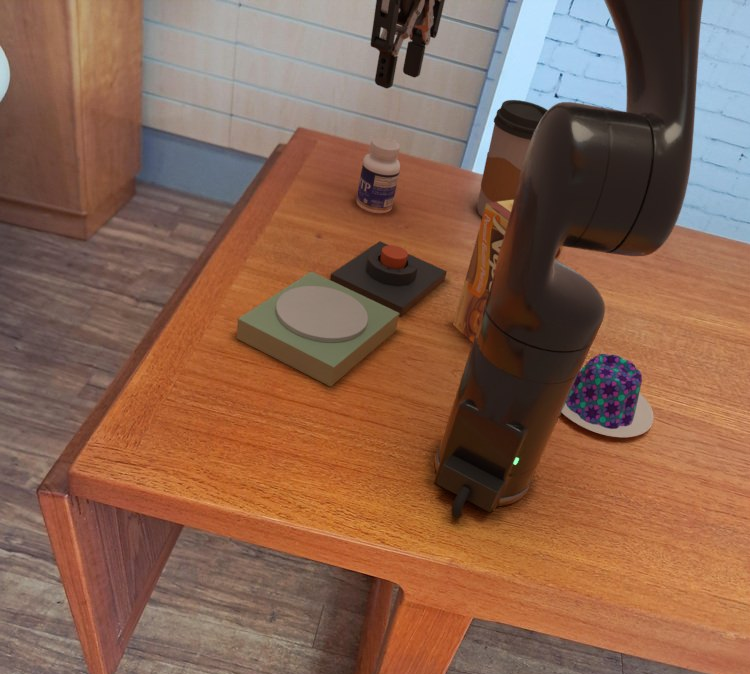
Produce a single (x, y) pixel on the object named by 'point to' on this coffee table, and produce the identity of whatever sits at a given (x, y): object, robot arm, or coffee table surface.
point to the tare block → (389, 279)
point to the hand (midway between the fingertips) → (397, 80)
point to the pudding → (609, 398)
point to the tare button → (393, 257)
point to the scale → (317, 327)
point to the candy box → (483, 267)
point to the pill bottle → (379, 176)
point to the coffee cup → (508, 150)
